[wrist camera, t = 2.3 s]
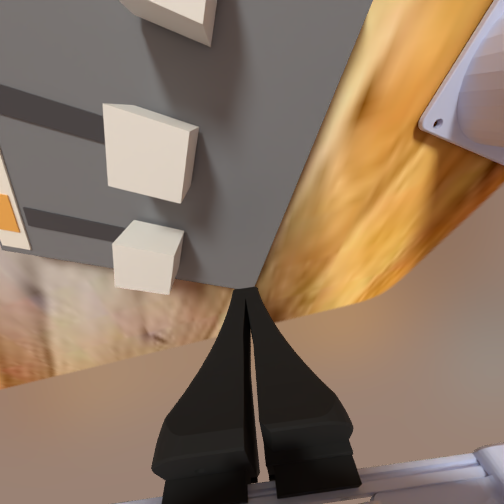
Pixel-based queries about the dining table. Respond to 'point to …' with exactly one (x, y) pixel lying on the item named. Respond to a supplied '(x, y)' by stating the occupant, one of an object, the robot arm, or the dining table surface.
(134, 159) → the middle tab
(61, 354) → the dining table surface
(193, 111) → the panel
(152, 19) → the near tab
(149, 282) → the far tab
